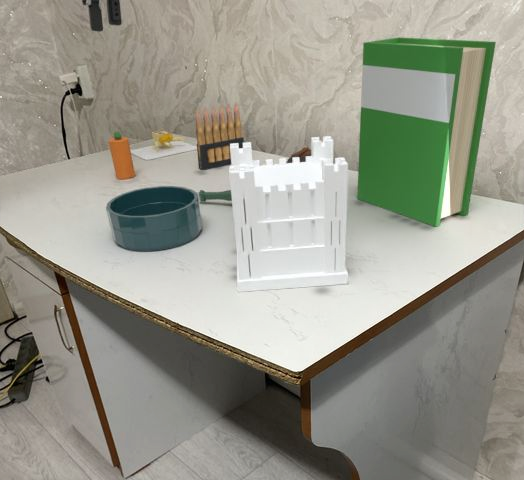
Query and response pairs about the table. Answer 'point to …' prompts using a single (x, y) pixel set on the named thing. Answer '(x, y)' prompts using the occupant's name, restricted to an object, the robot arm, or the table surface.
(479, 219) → the table surface
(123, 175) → the carrot toy
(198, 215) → the bowl
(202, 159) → the ammunition clip
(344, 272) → the castle model
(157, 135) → the character toy
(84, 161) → the table surface
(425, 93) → the hardback book
